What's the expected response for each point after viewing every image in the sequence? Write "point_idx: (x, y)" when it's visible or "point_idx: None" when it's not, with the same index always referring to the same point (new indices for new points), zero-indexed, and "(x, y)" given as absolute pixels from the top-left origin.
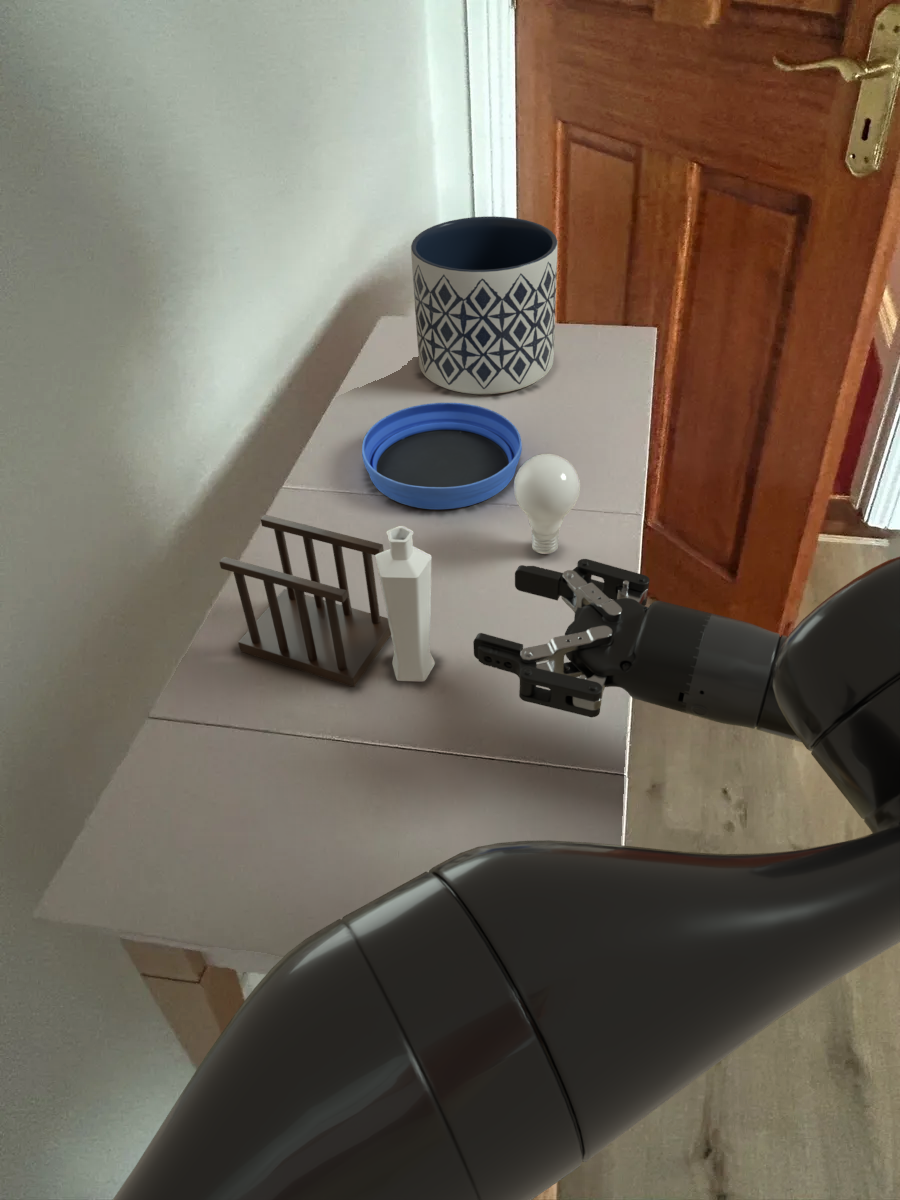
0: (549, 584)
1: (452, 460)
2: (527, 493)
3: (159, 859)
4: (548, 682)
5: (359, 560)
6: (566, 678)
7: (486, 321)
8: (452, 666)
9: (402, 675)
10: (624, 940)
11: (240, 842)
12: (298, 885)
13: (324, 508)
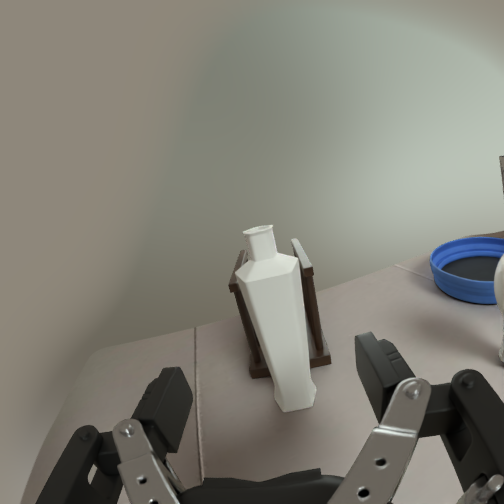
0: (376, 388)
1: (491, 273)
2: (500, 277)
3: (110, 365)
4: (59, 462)
5: (377, 310)
6: (62, 488)
7: None
8: (317, 419)
9: (275, 395)
10: None
11: (115, 386)
12: (86, 416)
13: (396, 278)
